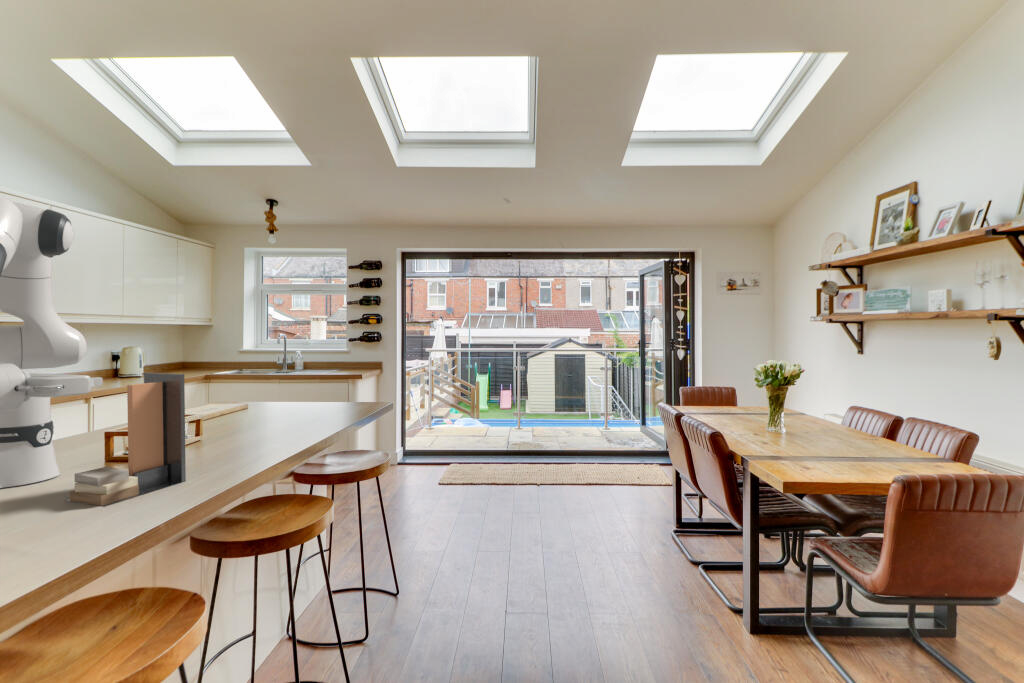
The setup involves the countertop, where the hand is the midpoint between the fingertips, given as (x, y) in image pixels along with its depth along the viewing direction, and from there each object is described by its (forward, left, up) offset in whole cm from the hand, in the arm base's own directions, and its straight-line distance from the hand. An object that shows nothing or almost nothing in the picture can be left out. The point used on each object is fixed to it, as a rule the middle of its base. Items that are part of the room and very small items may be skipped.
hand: (84, 380), depth 103 cm
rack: (+2, +8, -27) cm, 29 cm away
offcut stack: (+1, +3, -26) cm, 26 cm away
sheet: (+4, +12, -26) cm, 29 cm away
